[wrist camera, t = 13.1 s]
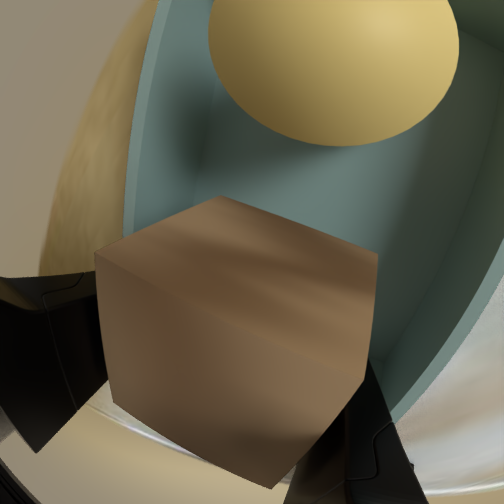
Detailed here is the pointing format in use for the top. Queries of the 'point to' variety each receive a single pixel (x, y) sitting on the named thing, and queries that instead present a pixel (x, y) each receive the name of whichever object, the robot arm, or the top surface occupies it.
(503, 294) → the top surface
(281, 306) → the walnut cube
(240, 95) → the yellow teardrop shape
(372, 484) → the robot arm
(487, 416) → the top surface
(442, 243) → the tote
